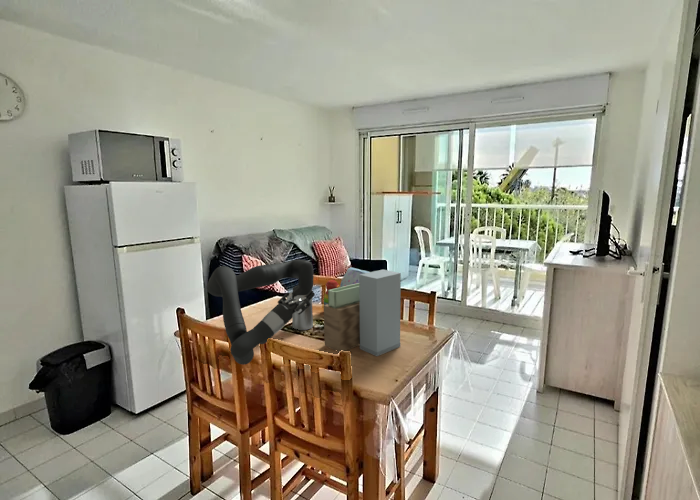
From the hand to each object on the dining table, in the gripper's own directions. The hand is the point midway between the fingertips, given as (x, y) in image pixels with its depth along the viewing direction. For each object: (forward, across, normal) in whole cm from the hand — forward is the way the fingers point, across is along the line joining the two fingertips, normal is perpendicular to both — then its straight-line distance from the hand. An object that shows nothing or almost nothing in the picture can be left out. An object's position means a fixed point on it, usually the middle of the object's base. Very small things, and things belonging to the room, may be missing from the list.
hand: (307, 290), depth 150 cm
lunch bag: (+24, -14, -47) cm, 55 cm away
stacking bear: (+22, -37, -46) cm, 63 cm away
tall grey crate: (+9, +13, -38) cm, 41 cm away
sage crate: (+15, 0, -20) cm, 25 cm away
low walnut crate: (+6, 0, -36) cm, 36 cm away
